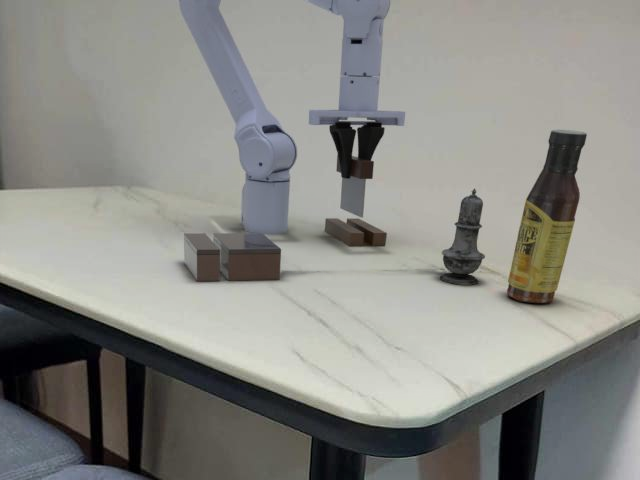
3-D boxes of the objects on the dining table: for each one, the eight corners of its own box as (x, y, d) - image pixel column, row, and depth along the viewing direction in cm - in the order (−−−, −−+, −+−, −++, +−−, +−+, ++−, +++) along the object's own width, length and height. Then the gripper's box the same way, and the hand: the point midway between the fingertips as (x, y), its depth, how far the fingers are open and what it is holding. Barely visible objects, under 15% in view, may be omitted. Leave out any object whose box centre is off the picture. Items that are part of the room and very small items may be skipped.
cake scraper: (334, 208, 118) (337, 154, 115) (345, 207, 119) (349, 154, 115) (357, 218, 110) (361, 161, 106) (369, 217, 110) (374, 161, 107)
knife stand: (324, 236, 123) (325, 218, 122) (357, 236, 125) (359, 218, 123) (349, 253, 113) (350, 233, 112) (384, 252, 115) (387, 232, 114)
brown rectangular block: (184, 262, 102) (183, 233, 100) (205, 262, 103) (205, 233, 101) (197, 281, 94) (196, 249, 92) (219, 280, 95) (220, 249, 93)
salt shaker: (481, 287, 99) (498, 193, 93) (437, 282, 100) (452, 189, 94) (479, 277, 104) (496, 187, 98) (437, 272, 105) (451, 183, 99)
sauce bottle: (500, 290, 98) (532, 126, 88) (546, 293, 98) (584, 129, 88) (512, 304, 92) (548, 130, 82) (561, 307, 92) (603, 134, 82)
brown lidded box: (213, 262, 103) (213, 233, 101) (260, 261, 105) (261, 233, 103) (228, 280, 95) (228, 249, 93) (279, 279, 97) (281, 248, 95)
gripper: (321, 75, 100) (317, 181, 107) (417, 78, 104) (407, 180, 110) (305, 75, 106) (302, 175, 113) (397, 77, 110) (388, 174, 116)
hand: (353, 177), depth 112 cm, fingers closed on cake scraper, 2 cm apart
